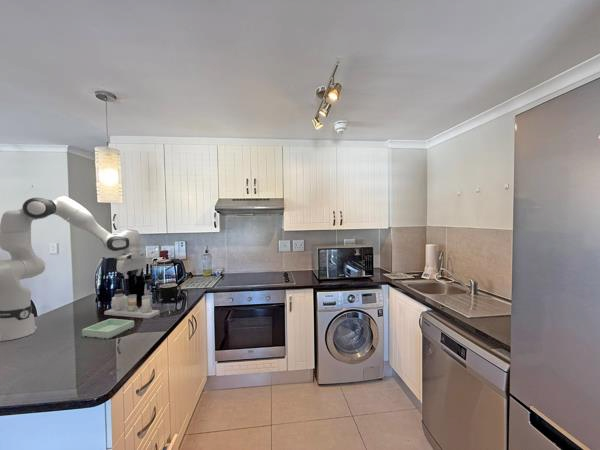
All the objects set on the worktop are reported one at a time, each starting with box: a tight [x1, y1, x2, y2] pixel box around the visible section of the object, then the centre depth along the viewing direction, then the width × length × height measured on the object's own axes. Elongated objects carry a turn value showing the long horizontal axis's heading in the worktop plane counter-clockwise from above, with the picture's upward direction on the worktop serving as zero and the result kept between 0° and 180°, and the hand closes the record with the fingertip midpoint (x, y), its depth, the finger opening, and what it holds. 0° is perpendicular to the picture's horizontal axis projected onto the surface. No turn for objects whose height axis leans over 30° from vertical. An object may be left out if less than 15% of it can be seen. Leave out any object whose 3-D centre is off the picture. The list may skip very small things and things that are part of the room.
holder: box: [104, 305, 160, 319], centre depth 171 cm, size 32×9×5 cm, turn 79°
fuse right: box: [141, 294, 151, 313], centre depth 169 cm, size 5×5×10 cm
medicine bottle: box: [111, 288, 128, 309], centre depth 185 cm, size 7×7×12 cm
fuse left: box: [113, 293, 123, 311], centre depth 173 cm, size 5×5×10 cm
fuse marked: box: [127, 294, 137, 312], centre depth 171 cm, size 5×5×10 cm
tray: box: [81, 318, 135, 340], centre depth 144 cm, size 16×16×4 cm
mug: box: [154, 283, 182, 304], centre depth 199 cm, size 16×16×12 cm
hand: (132, 277), depth 171 cm, fingers open, 8 cm apart
